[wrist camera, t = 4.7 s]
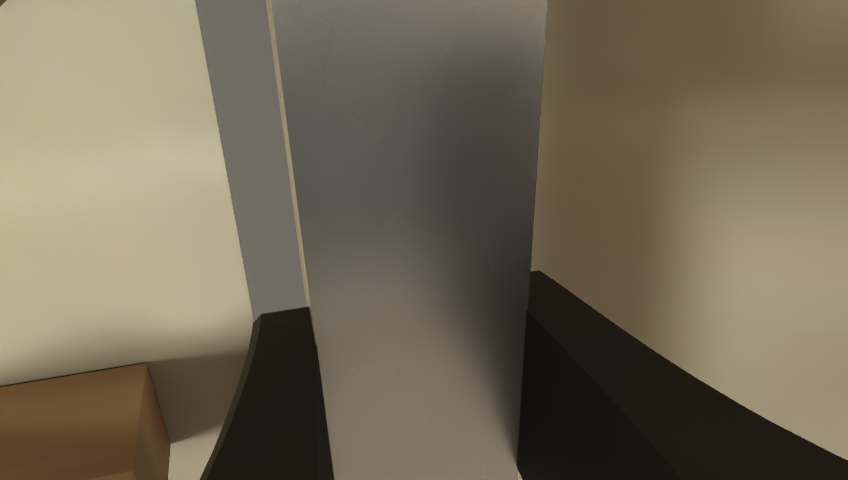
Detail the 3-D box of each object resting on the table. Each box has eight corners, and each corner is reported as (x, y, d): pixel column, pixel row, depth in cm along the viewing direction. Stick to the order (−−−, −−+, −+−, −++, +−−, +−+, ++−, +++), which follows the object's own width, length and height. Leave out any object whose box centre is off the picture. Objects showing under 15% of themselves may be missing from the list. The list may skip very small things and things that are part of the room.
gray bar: (454, 463, 20) (461, 480, 19) (288, 496, 19) (290, 515, 18) (450, -442, 10) (462, -454, 10) (115, -451, 9) (109, -464, 9)
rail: (465, 604, 15) (501, 726, 13) (349, 631, 15) (370, 761, 13) (475, -439, 7) (581, -528, 5) (205, -446, 6) (199, -551, 4)
